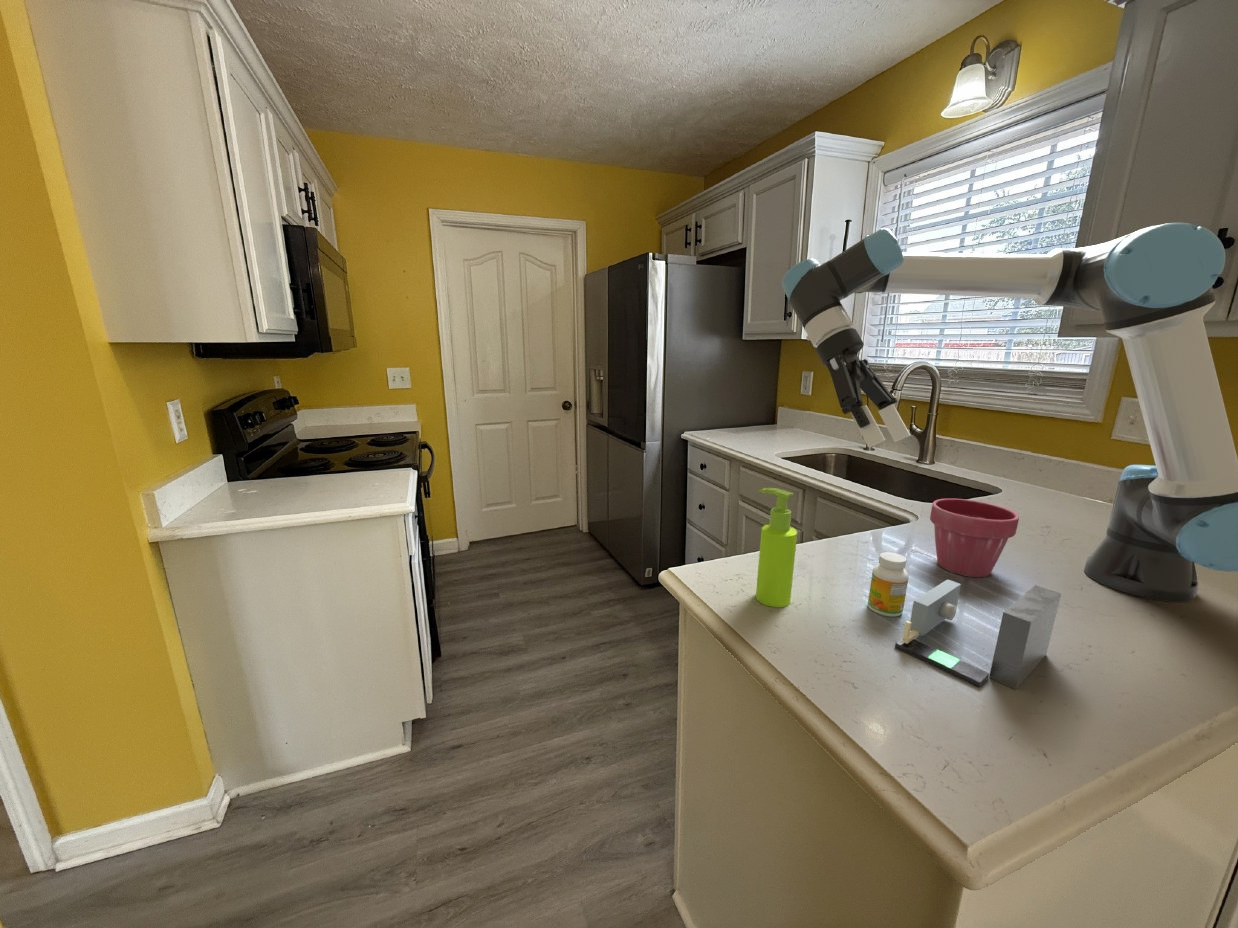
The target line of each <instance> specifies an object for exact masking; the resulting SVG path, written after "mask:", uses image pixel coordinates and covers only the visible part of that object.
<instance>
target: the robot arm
mask: <svg viewBox="0 0 1238 928" xmlns="http://www.w3.org/2000/svg"><path fill="white" fill-rule="evenodd" d="M1225 264H1226V250H1225V248H1224V245H1223V243H1222V241H1221V239H1220V238H1219V237H1218V236H1217V235H1216V234H1215V233H1213V231H1211V230H1209V229H1208V228H1206V227H1204V226H1200V225H1196V224H1193V223H1187V222H1170V223H1169V222H1168V223H1164V224H1163V223H1162V224H1158V225H1156V224H1155V225H1150V226H1148V227H1143V228H1140V229H1138V230H1136V231H1134V232H1131V233H1129V234H1126V235H1124V236H1121V237H1118V238H1115V239H1112V240H1109V241H1106V242H1102V243H1099V244H1095V245H1087V246H1084V247H1073V248H1055V249H1053V250H1051V251H1050V252H1048V253H1047V254H1030V253H1029V254H1021V253H1020V254H1019V253H1018V254H1017V253H1010V254H1009V253H1007V254H1006V253H961V252H960V253H959V252H958V253H957V252H955V253H953V252H952V253H951V252H949V253H948V252H947V253H945V252H903V250H902V248H901V245H900V243H899V241H898V239H897V238H896V236H895V234H894V233H893V232H892V231H891V230H890V229H889V228H886V227H882V228H880V229H878V230H876V231H874V232H873V233H871V234H868V235H866V236H865V237H864V238H862V239H861V240H860V241H857V242H856V243H854V244H853V245H851V246H850V247H849V248H847V249H845V250H844V251H842V252H841V253H839V254H837V255H836V256H834V257H833V258H831V259H829V260H828V261H826V262H823V263H822V264H821V263H820V262H819V261H818V260H816V259H815V258H807V259H805V260H803V261H800V262H797V263H796V264H795V265H793V266H791V268H790V269H788V270H786V273H785V274H784V276H783V278H782V280H781V287H782V289H783V290H784V293H785V295H786V297H787V300H788V302H789V304H790V306H791V307H792V310H793V311H794V313H795V314H796V317H797V318H798V320H799V323H801V325H802V328H803V329H804V331H805V333H806V334H807V336H806V337H805V338H806V340H807V341H810V343H811V345H812V346H813V347H814V348H816V350H815V352H816V354H817V356H818V358H819V360H820V362H821V363H822V365H823V366H824V367H826V368H827V369H828V371H829V374H830V376H831V380H832V383H833V386H834V389H835V393H836V396H837V399H838V402H839V405H840V409H841V412H842V413H843V414H844V415H848V414H849V415H851V417H852V420H853V421H854V424H855V425H856V427H857V429H858V431H859V432H860V434H861V437H862V438H863V440H864V442H865V444H866V446H867V448H871V447H874V446H876V445H878V444H880V443H882V442H884V441H886V438H885V436H884V434H883V432H882V429H880V427H879V425H878V423H877V421H876V419H875V417H874V415H873V414H872V412H871V411H870V408H869V407H868V404H866V405H865V404H864V400H863V396H862V395H863V394H862V392H863V393H864V394H865V395H866V397H868V398H869V400H870V401H871V402H872V403H873V404H874V406H876V407H877V409H878V411H877V412H878V414H879V415H880V418H881V419H882V422H883V424H884V425H885V427H886V429H887V431H888V433H889V434H890V436H891V438H892V439H893V442H894V443H898V442H899V441H901V440H903V439H906V438H909V437H911V433H910V431H909V430H908V428H907V426H906V424H905V422H904V421H903V419H902V417H901V415H900V414H899V412H898V410H897V408H896V406H895V404H896V403H898V402H899V401H898V399H897V397H894V396H893V395H892V394H891V391H890V390H889V389H888V388H887V386H885V384H884V383H883V381H882V380H881V379H880V378H879V376H878V374H876V372H875V371H874V369H873V368H872V365H870V363H869V361H868V360H867V358H864V359H860V358H859V356H858V353H859V352H860V351H862V350H863V348H864V346H865V345H864V341H863V339H862V338H861V336H860V334H859V332H858V330H857V329H856V328H855V327H854V323H853V321H852V320H851V317H850V316H849V315H848V312H847V311H846V309H845V308H844V306H843V304H842V302H841V301H842V300H844V299H846V298H848V297H849V296H852V295H853V294H862V293H881V294H882V293H886V294H887V293H888V294H911V295H912V294H913V295H931V296H932V295H936V296H937V295H939V296H961V297H962V296H963V297H985V298H987V297H988V298H1003V299H1005V298H1008V299H1011V298H1013V299H1032V300H1033V301H1034V302H1035V304H1037V305H1039V306H1056V307H1065V308H1073V309H1079V310H1086V311H1092V312H1093V311H1094V312H1100V315H1101V318H1102V321H1103V324H1104V328H1105V332H1106V333H1108V334H1111V335H1113V336H1116V337H1118V338H1120V339H1121V340H1122V344H1123V347H1124V351H1125V355H1126V359H1127V362H1128V363H1127V364H1128V366H1129V369H1130V373H1131V378H1132V381H1133V384H1134V388H1135V389H1134V390H1135V393H1136V396H1137V400H1138V404H1139V408H1140V412H1141V414H1142V419H1143V422H1144V423H1143V424H1144V427H1145V430H1146V433H1147V437H1148V441H1149V446H1150V448H1151V452H1152V457H1153V460H1154V463H1155V465H1151V464H1149V465H1148V464H1130V465H1128V466H1126V467H1124V469H1123V471H1122V473H1121V476H1120V477H1119V479H1118V482H1117V484H1118V485H1117V489H1116V493H1115V497H1114V501H1113V504H1112V505H1113V506H1112V509H1111V513H1110V517H1109V521H1108V524H1107V529H1106V533H1105V535H1104V538H1103V539H1102V540H1101V541H1100V542H1099V544H1098V545H1097V546H1096V547H1095V549H1094V550H1093V552H1092V553H1091V555H1090V556H1088V557H1087V559H1086V561H1085V564H1084V569H1083V570H1084V573H1085V574H1086V575H1087V576H1088V577H1089V578H1090V579H1092V580H1094V581H1095V582H1098V583H1099V584H1102V585H1104V586H1106V587H1109V588H1111V589H1114V590H1117V591H1120V592H1123V593H1127V594H1130V595H1134V596H1138V597H1142V598H1147V599H1150V600H1151V599H1152V600H1157V601H1163V602H1170V603H1187V602H1192V601H1194V600H1195V599H1196V596H1197V594H1198V591H1199V582H1198V576H1197V569H1196V565H1200V566H1201V567H1204V568H1207V569H1210V570H1212V571H1213V570H1215V571H1218V572H1228V573H1229V572H1231V573H1234V572H1235V573H1237V572H1238V455H1237V452H1236V447H1235V442H1234V437H1233V434H1232V431H1231V427H1230V423H1229V418H1228V415H1227V410H1226V406H1225V403H1224V398H1223V394H1222V389H1221V387H1220V383H1219V379H1218V375H1217V371H1216V367H1215V362H1214V358H1213V354H1212V350H1211V347H1210V343H1209V339H1208V334H1207V329H1206V326H1205V323H1204V316H1205V315H1206V314H1207V313H1208V312H1209V310H1211V308H1212V307H1214V305H1215V304H1216V298H1215V295H1214V290H1213V285H1215V283H1216V281H1217V280H1218V277H1219V276H1220V275H1222V273H1223V271H1224V268H1225ZM1195 564H1196V565H1195Z"/></svg>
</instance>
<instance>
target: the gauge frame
mask: <svg viewBox="0 0 1238 928" xmlns="http://www.w3.org/2000/svg"><path fill="white" fill-rule="evenodd" d="M1061 596H1062V593H1061V592H1058V591H1055V590H1052V589H1048V588H1046V587H1043V586H1039V585H1036V584H1035V585H1033V586H1032V588H1030V589H1029V590H1028V591H1027V592H1026V593H1024V594H1023V595H1022V596H1021V597H1019V598H1018V599H1017V600H1016V601H1015V602H1014V603H1012V604H1011V605H1010V606H1009V607H1008V608H1006V609H1005V610H1004V611H1003V613H1002V617H1001V621H1000V626H999V631H998V635H997V639H996V645H995V648H994V654H993V657H992V663H991V667H990V671H989V672H987V671H985V670H983V669H980V668H978V667H976V666H974V665H972V664H970V663H967V662H965V661H963V660H961V659H959V658H957V657H955V656H953V655H951V654H950V653H947V652H944V651H942V650H940V649H936V648H934V647H932V646H929V645H927V644H925V643H923V642H921V641H919V640H916V639H915V638H914V639H913V640H912V641H910V642H909V643H908V644H907V643H905V642H902V638H901V639H898V640H897V641H896V642H895V643H894V648H895V649H897V650H899V651H901V652H904V653H905V654H907V655H909V656H912V657H914V658H916V659H918V660H920V661H923V662H925V663H927V664H929V665H931V666H933V667H934V668H937V669H939V670H941V671H943V672H946V673H948V674H949V675H952V676H954V677H955V678H958V679H960V680H963V681H965V682H967V683H969V684H970V685H972V686H975V687H977V688H981V686H982V685H984V683H985V682H986V681H987V680H989V679H991V680H993V681H995V682H997V683H1000V684H1002V685H1004V686H1007V687H1009V688H1011V689H1014V690H1017V689H1018V688H1019V686H1020V685H1021V684H1022V683H1023V682H1024V680H1025V679H1027V678H1028V676H1029V675H1030V674H1031V673H1032V672H1033V671H1034V670H1035V668H1036V667H1037V666H1038V665H1039V664H1040V663H1041V662H1042V660H1044V658H1045V657H1046V656H1047V654H1048V649H1049V646H1050V645H1049V644H1050V641H1051V636H1052V633H1053V629H1054V624H1055V622H1056V621H1055V620H1056V618H1057V617H1056V616H1057V612H1058V608H1059V604H1060V601H1061Z"/></svg>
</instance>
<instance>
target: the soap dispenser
mask: <svg viewBox="0 0 1238 928" xmlns="http://www.w3.org/2000/svg"><path fill="white" fill-rule="evenodd" d="M758 492H759V493H760V494H768V495H769V494H770V495H774V496H776V505H775V507H772V508H771V509H770V513H769V515H770V516H769V524H768V523H767V524H765V525H763V526H761V530H760V532H761V533H760V543H759V552H758V554H759V555H758V566H757V578H756V589H755V598H756V600H757V601H758V602H759V603H761V604H763V605H764V606H767V607H771V608H784V607H787V606H789V605H790V603H791V598H792V588H793V579H794V578H793V577H794V570H795V569H794V568H795V558H796V548H797V542H798V541H797V539H798V530H796V528H794V527H791V521H792V511H791V510H790V509H789V508H788V499H790V498H793V497H794V496H793V495H794V492H791V491H788V490H785V489H781V488H775V487H763V488H762V489H761V488H760V489H758Z"/></svg>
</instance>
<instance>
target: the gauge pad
mask: <svg viewBox="0 0 1238 928" xmlns="http://www.w3.org/2000/svg"><path fill="white" fill-rule="evenodd" d="M961 586H962V583H959V582H956V581H953V580H951V579H946V580H944V581H943V582H940V583H939V584H937V585H935V586H934V587H933V588H931V589H930V590H928V591H927V592H925V593H923V594H922V595H920V596H919V597H917V598H916V599H914V600H913V603H912V609H911V615H910V621H909V620H906V621H905V623H904V629H903V635H902V637H901V639H902V642H905V643H907V644H908V643H909V642H910V641H912V640H913V639H914V640H915V638H918V636H919V635H920V636H921V637H922V636H924V635H926V634H927V633H929V632H930V631H931V630H933V629H934V628H936V627H937V626H939V625H940V624H941V623H943V622H944V621H945V620H948V621H950V622H951V621H953V619H955V616H956V613H957V607H958V602H959V597H960V596H959V595H960V591H961Z"/></svg>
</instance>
